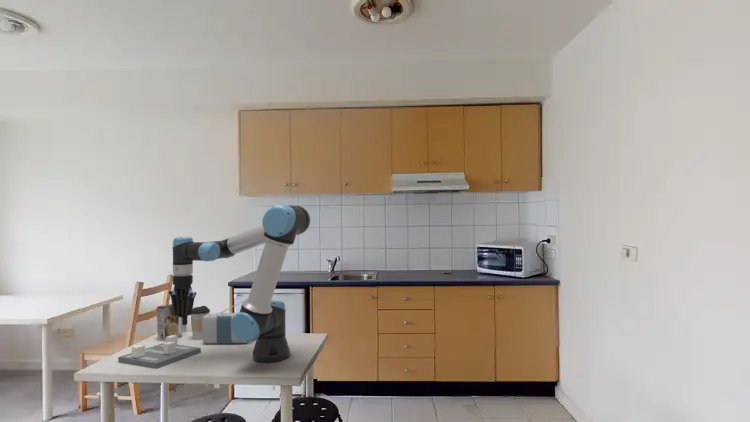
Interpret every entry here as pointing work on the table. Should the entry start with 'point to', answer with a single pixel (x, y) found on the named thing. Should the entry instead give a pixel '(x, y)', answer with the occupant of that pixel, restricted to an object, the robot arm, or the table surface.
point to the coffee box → (166, 322)
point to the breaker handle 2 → (172, 339)
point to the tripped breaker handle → (169, 347)
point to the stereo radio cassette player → (218, 328)
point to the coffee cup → (198, 321)
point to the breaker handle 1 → (138, 351)
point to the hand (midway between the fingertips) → (182, 332)
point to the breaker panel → (159, 356)
